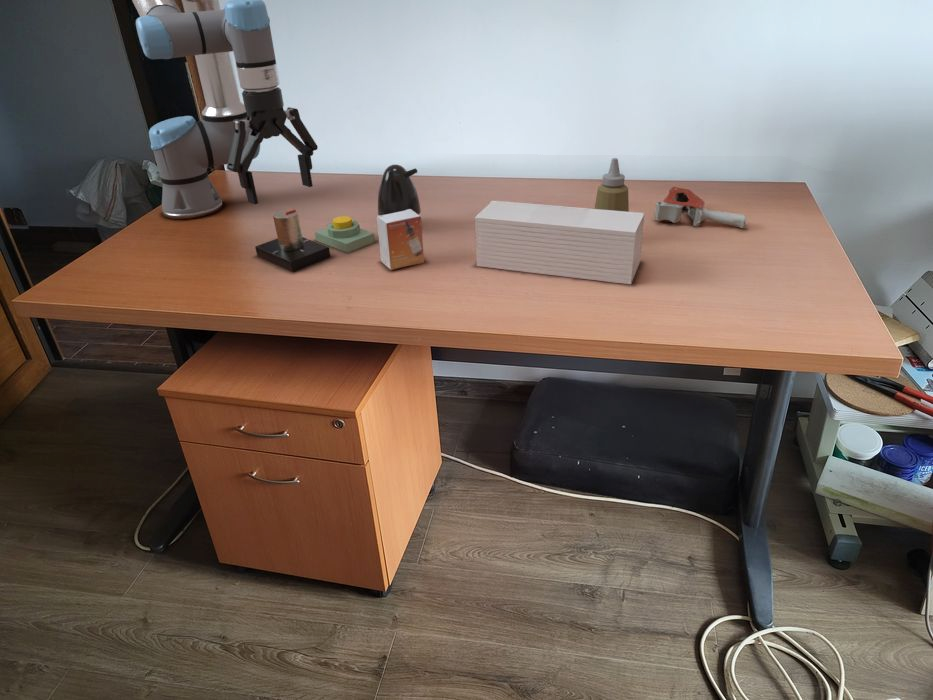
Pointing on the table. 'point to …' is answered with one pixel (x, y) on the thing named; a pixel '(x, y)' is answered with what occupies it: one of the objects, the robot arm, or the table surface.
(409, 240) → the small box
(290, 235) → the dial
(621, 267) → the white ridged block
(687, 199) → the tape dispenser
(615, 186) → the squeeze bottle
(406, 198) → the pump dispenser
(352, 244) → the button box
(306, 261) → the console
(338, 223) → the button
